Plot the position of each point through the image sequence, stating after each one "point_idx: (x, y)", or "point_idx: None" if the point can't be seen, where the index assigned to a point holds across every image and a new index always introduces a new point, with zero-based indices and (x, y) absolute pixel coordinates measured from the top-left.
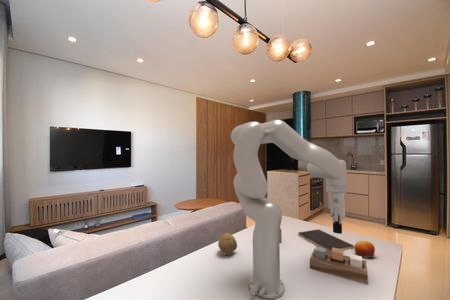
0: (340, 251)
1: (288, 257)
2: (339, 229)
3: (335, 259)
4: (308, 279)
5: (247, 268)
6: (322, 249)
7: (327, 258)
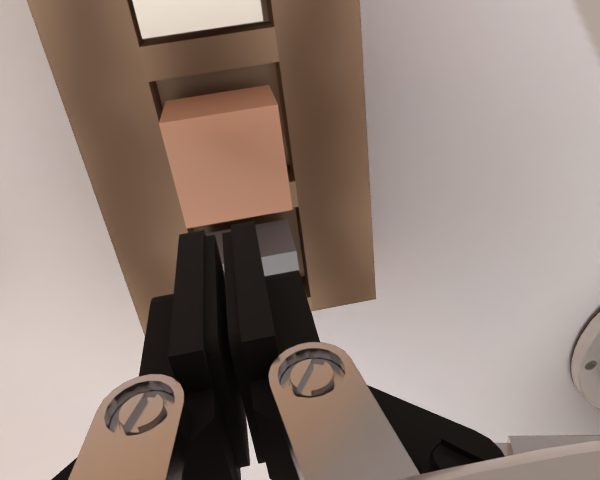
0: (236, 136)
1: None
2: (276, 290)
3: None
4: (494, 224)
5: None
6: None
7: None
